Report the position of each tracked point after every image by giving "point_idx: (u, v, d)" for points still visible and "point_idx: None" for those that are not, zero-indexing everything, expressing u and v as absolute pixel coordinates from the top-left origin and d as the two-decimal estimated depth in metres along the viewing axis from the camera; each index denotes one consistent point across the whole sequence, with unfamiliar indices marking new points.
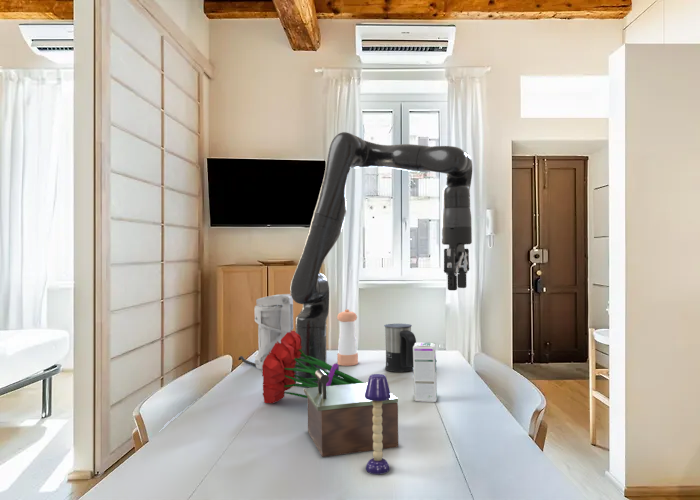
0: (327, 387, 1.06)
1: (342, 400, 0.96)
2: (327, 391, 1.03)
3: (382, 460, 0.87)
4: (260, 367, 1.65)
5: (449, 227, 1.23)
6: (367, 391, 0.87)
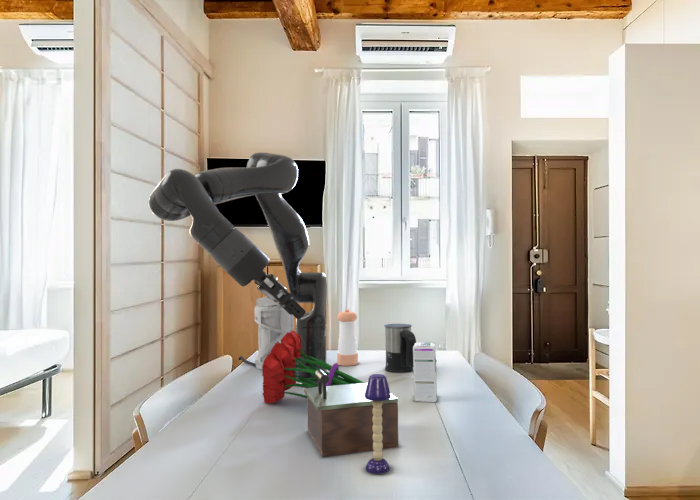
0: (327, 387, 1.06)
1: (342, 400, 0.96)
2: (327, 391, 1.03)
3: (382, 460, 0.87)
4: (260, 367, 1.65)
5: None
6: (367, 391, 0.87)
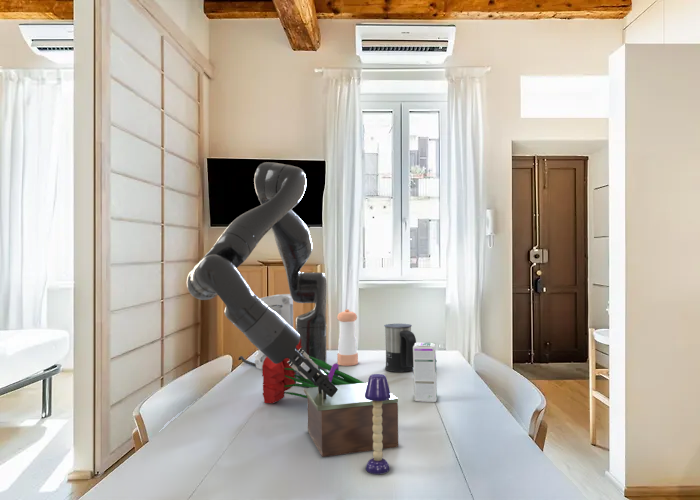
0: None
1: (342, 400, 0.96)
2: None
3: (382, 460, 0.87)
4: (260, 367, 1.65)
5: None
6: (367, 391, 0.87)
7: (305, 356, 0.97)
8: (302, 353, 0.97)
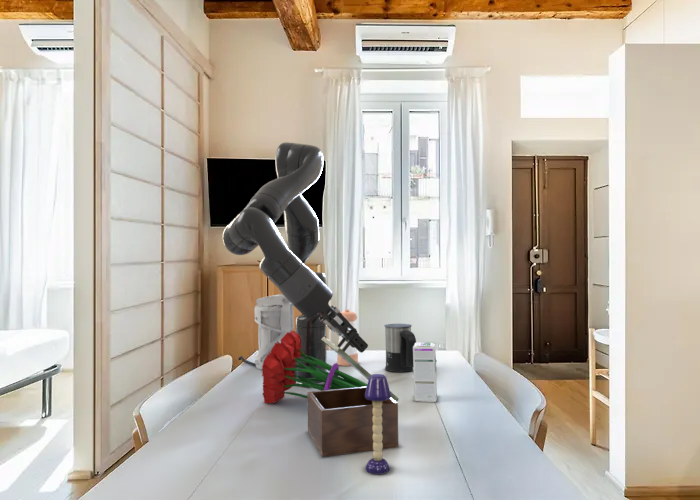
0: None
1: None
2: None
3: (382, 460, 0.87)
4: (260, 367, 1.65)
5: None
6: (367, 391, 0.87)
7: (337, 312, 0.99)
8: (334, 309, 0.99)
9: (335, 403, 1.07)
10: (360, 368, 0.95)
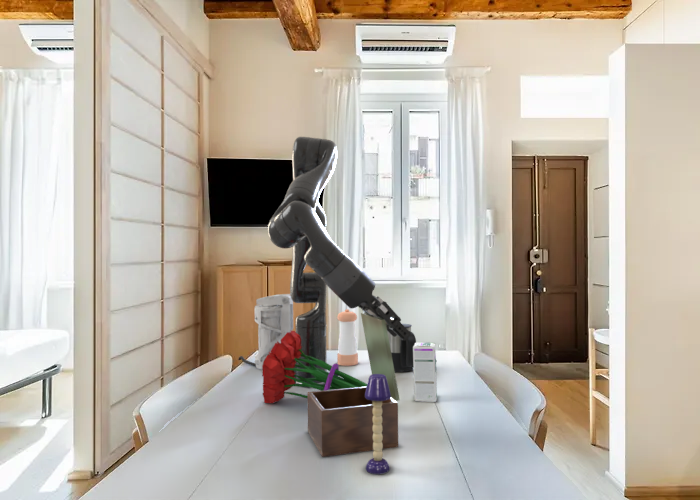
0: None
1: None
2: None
3: (382, 460, 0.87)
4: (260, 367, 1.65)
5: None
6: (367, 391, 0.87)
7: (380, 301, 1.01)
8: (377, 299, 1.02)
9: (335, 403, 1.07)
10: (388, 349, 0.97)
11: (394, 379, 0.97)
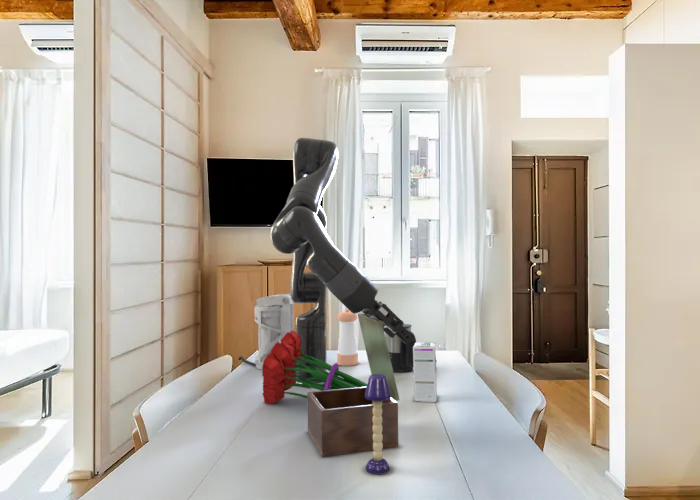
0: None
1: None
2: None
3: (382, 460, 0.87)
4: (260, 367, 1.65)
5: None
6: (367, 391, 0.87)
7: None
8: (379, 304, 1.02)
9: (335, 403, 1.07)
10: (386, 350, 0.97)
11: (393, 379, 0.97)
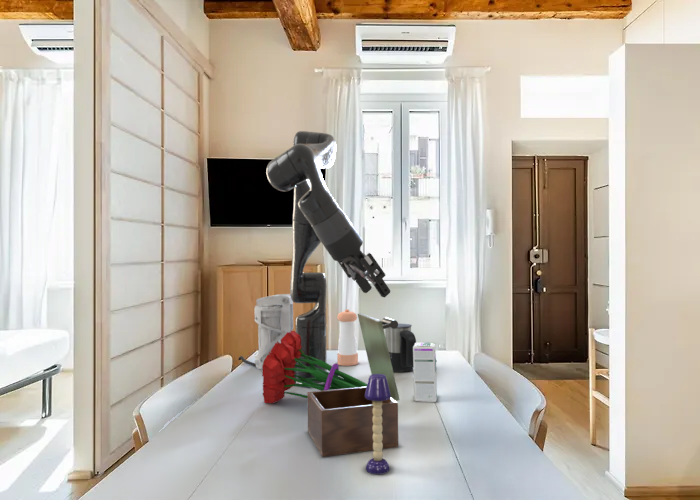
0: None
1: None
2: None
3: (382, 460, 0.87)
4: (260, 367, 1.65)
5: None
6: (367, 391, 0.87)
7: None
8: None
9: (335, 403, 1.07)
10: (386, 350, 0.97)
11: (393, 379, 0.97)
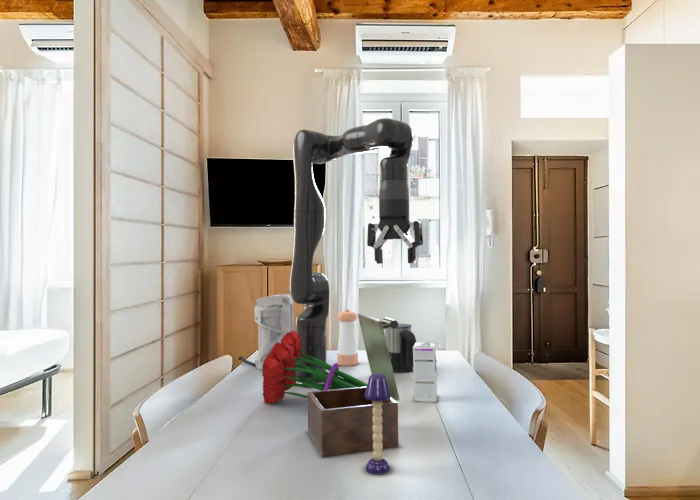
0: None
1: None
2: None
3: (382, 460, 0.87)
4: (260, 367, 1.65)
5: None
6: (367, 391, 0.87)
7: None
8: None
9: (335, 403, 1.07)
10: (386, 350, 0.97)
11: (393, 379, 0.97)
